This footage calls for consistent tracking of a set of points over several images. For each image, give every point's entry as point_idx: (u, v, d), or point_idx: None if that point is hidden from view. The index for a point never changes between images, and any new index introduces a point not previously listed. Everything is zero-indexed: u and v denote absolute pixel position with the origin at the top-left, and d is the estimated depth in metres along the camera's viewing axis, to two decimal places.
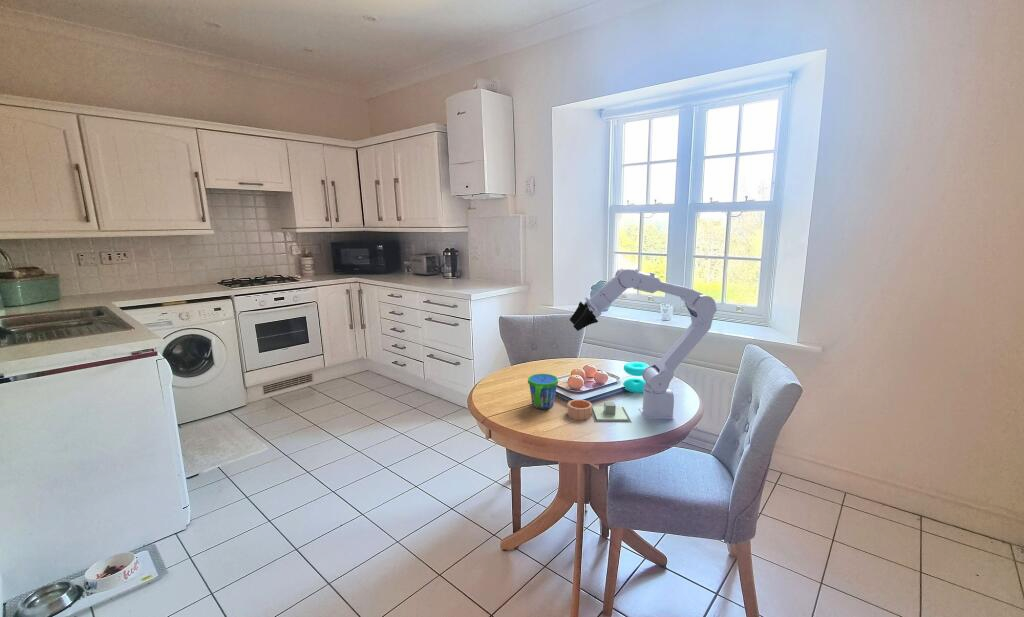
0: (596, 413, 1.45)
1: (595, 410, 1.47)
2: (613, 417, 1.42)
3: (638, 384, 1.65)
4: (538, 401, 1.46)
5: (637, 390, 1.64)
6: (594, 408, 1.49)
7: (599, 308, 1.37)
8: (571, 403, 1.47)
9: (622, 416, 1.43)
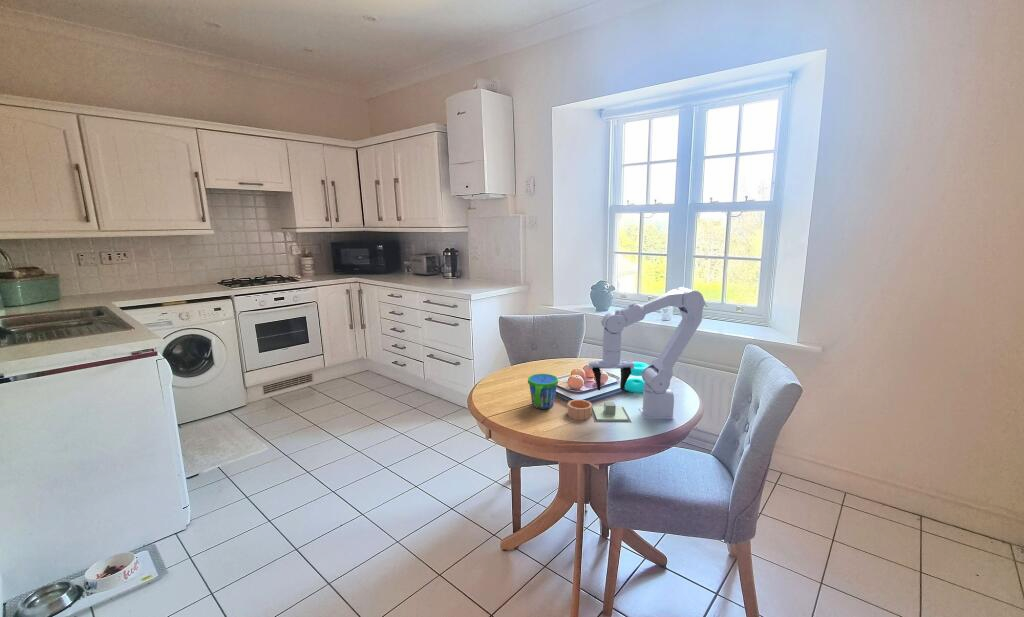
0: (596, 413, 1.45)
1: (595, 410, 1.47)
2: (613, 417, 1.42)
3: (638, 384, 1.65)
4: (538, 401, 1.46)
5: (637, 390, 1.64)
6: (594, 408, 1.49)
7: None
8: (571, 403, 1.47)
9: (622, 416, 1.43)
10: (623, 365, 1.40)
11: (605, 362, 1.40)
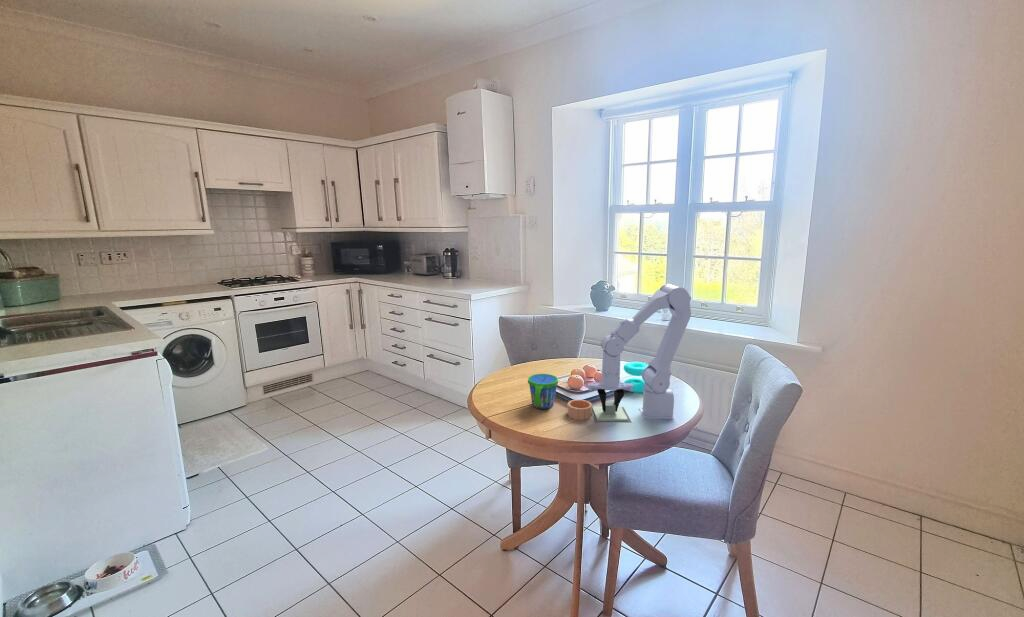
0: (596, 413, 1.45)
1: (595, 410, 1.47)
2: (613, 417, 1.42)
3: (638, 384, 1.65)
4: (538, 401, 1.46)
5: (637, 390, 1.64)
6: (594, 408, 1.49)
7: None
8: (571, 403, 1.47)
9: (622, 416, 1.43)
10: (622, 387, 1.42)
11: (604, 384, 1.42)
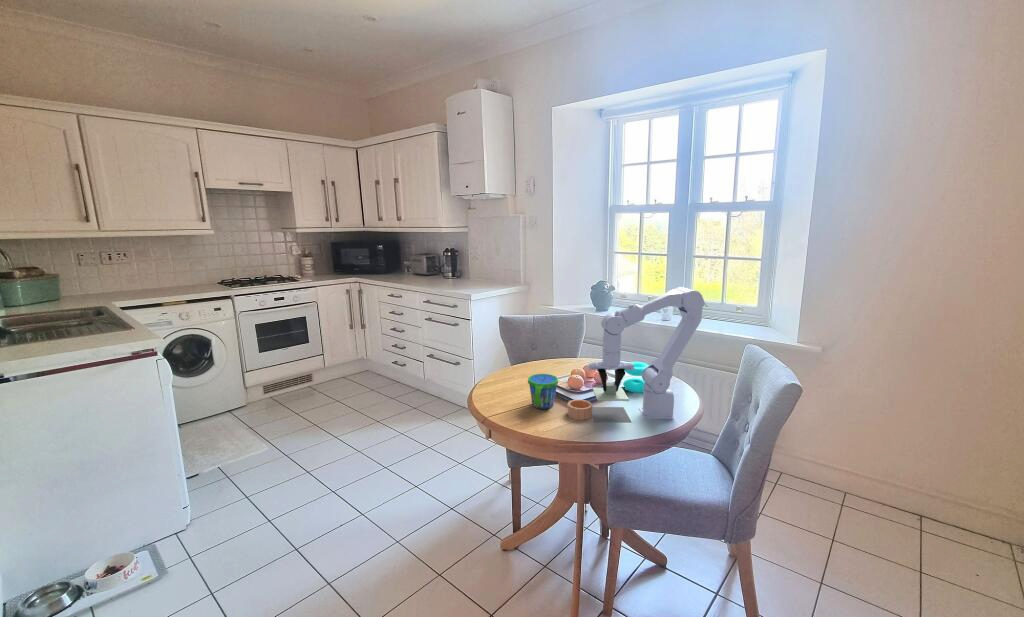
0: (597, 393, 1.44)
1: (596, 391, 1.46)
2: (614, 397, 1.41)
3: (638, 384, 1.65)
4: (538, 401, 1.46)
5: (637, 390, 1.64)
6: (595, 389, 1.48)
7: None
8: (571, 403, 1.47)
9: (623, 396, 1.41)
10: (623, 366, 1.40)
11: (605, 363, 1.40)
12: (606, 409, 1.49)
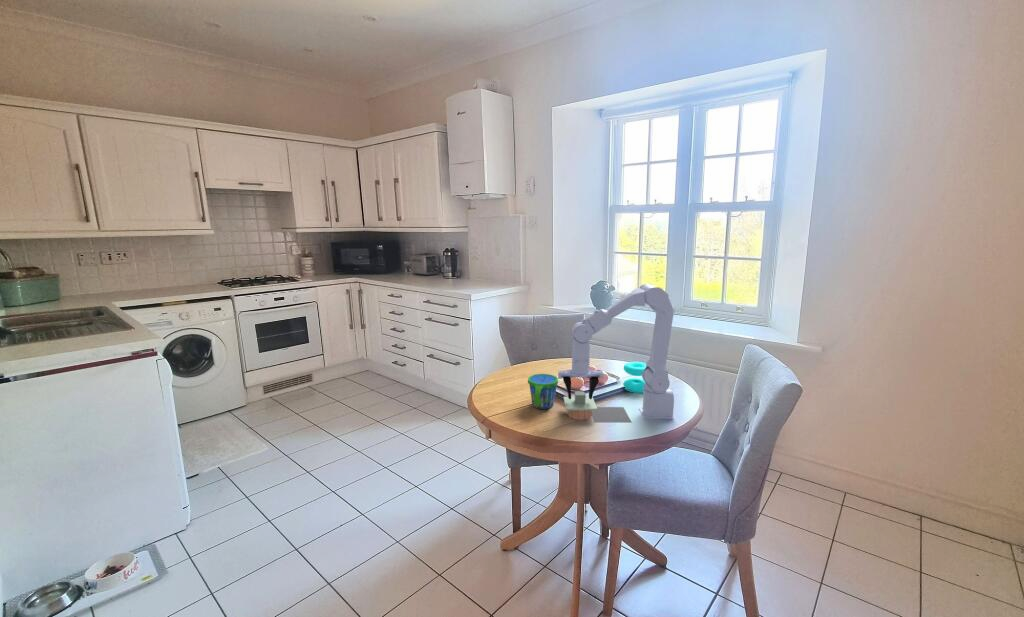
0: (567, 402, 1.45)
1: (566, 400, 1.47)
2: (583, 406, 1.42)
3: (638, 384, 1.65)
4: (538, 401, 1.46)
5: (637, 390, 1.64)
6: (565, 398, 1.49)
7: None
8: None
9: (592, 405, 1.42)
10: (592, 374, 1.41)
11: (574, 371, 1.41)
12: (606, 409, 1.49)
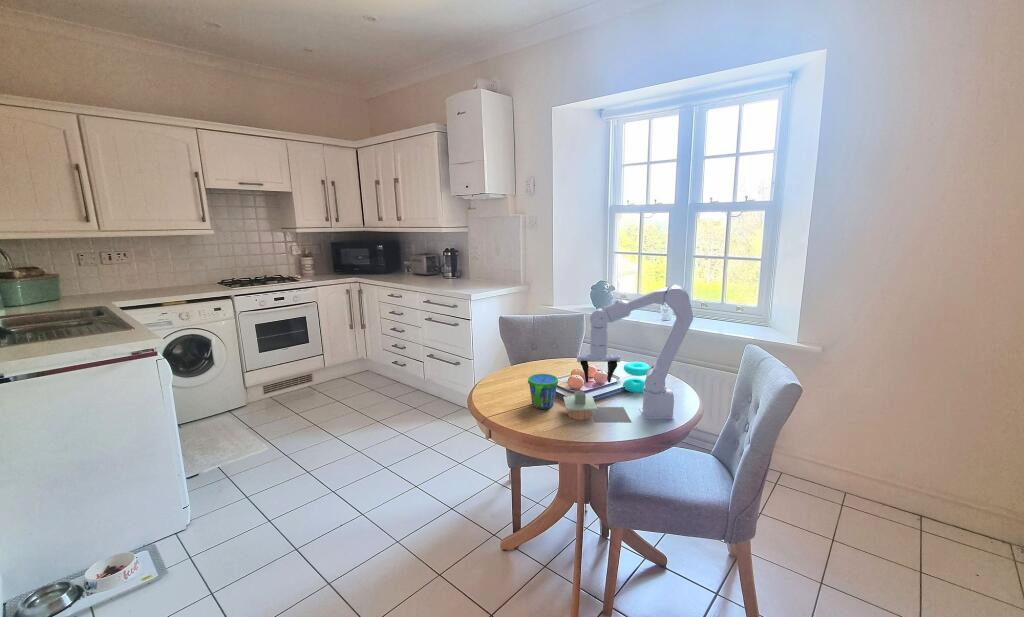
0: (567, 402, 1.45)
1: (566, 400, 1.47)
2: (583, 406, 1.42)
3: (638, 384, 1.65)
4: (538, 401, 1.46)
5: (637, 390, 1.64)
6: (565, 398, 1.49)
7: None
8: None
9: (592, 405, 1.42)
10: (609, 358, 1.47)
11: (593, 355, 1.47)
12: (606, 409, 1.49)
